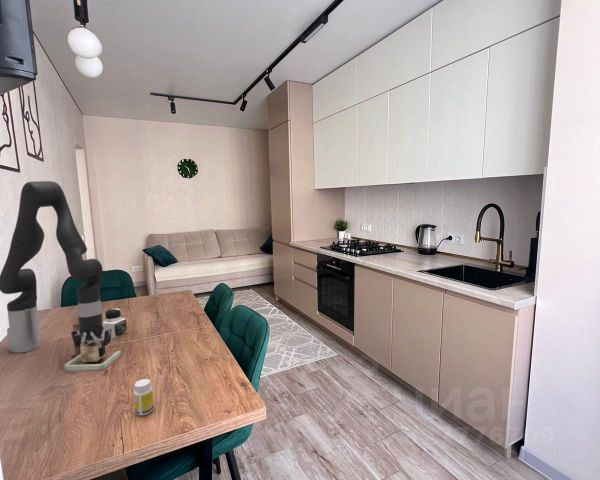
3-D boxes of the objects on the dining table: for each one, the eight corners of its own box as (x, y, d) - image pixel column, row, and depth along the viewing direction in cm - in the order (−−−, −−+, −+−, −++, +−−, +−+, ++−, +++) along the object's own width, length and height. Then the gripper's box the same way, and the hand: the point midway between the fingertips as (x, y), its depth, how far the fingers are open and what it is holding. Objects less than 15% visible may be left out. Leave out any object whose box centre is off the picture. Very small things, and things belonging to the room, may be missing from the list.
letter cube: (81, 361, 120) (80, 347, 119) (90, 355, 125) (89, 341, 125) (96, 361, 120) (95, 346, 120) (105, 354, 126) (104, 340, 125)
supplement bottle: (156, 405, 95) (154, 377, 94) (149, 415, 90) (147, 386, 89) (139, 406, 95) (137, 378, 94) (131, 416, 90) (129, 387, 89)
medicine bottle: (115, 339, 144) (113, 312, 143) (101, 337, 145) (99, 311, 144) (127, 332, 151) (125, 307, 150) (114, 331, 152) (112, 307, 151)
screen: (71, 357, 126) (68, 325, 125) (91, 343, 139) (89, 314, 138) (84, 357, 126) (81, 325, 125) (103, 343, 139) (101, 314, 138)
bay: (62, 370, 116) (62, 366, 116) (84, 355, 128) (83, 351, 128) (103, 369, 116) (102, 365, 116) (121, 354, 129) (120, 350, 128)
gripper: (63, 316, 117) (67, 361, 119) (103, 315, 117) (107, 360, 119) (77, 310, 125) (80, 352, 126) (115, 309, 125) (118, 351, 127)
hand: (93, 356), depth 123 cm, fingers closed on letter cube, 5 cm apart
